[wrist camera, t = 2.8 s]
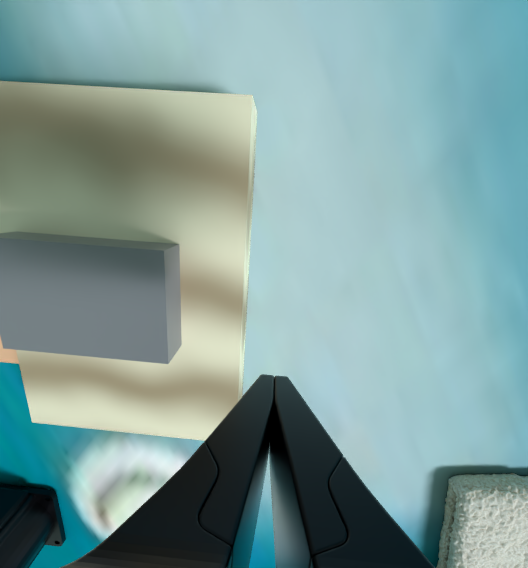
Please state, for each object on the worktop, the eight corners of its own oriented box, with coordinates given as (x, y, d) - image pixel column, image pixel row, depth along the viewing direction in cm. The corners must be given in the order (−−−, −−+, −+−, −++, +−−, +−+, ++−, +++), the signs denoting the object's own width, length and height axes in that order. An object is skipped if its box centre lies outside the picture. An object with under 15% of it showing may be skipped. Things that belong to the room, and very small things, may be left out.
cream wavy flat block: (241, 415, 21) (235, 443, 18) (60, 397, 21) (32, 422, 19) (257, 112, 15) (252, 95, 12) (6, 97, 15) (-45, 78, 13)
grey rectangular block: (181, 344, 16) (168, 364, 14) (35, 331, 17) (3, 348, 15) (179, 244, 15) (164, 250, 13) (15, 231, 15) (-24, 235, 13)
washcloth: (423, 607, 26) (441, 659, 23) (439, 464, 21) (464, 506, 18) (557, 611, 25) (594, 664, 22) (607, 461, 20) (662, 505, 17)
